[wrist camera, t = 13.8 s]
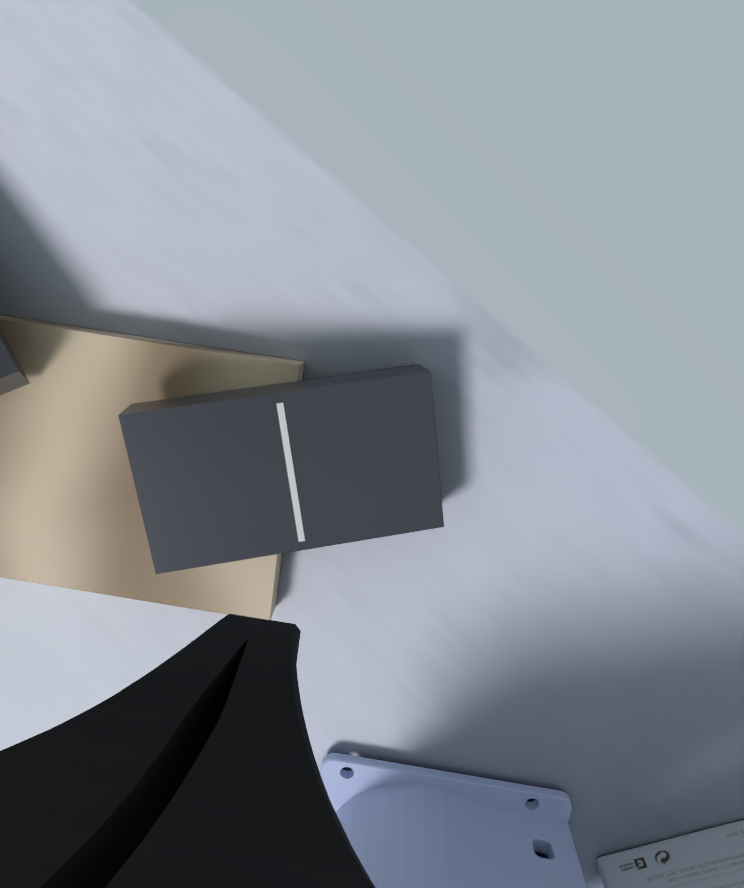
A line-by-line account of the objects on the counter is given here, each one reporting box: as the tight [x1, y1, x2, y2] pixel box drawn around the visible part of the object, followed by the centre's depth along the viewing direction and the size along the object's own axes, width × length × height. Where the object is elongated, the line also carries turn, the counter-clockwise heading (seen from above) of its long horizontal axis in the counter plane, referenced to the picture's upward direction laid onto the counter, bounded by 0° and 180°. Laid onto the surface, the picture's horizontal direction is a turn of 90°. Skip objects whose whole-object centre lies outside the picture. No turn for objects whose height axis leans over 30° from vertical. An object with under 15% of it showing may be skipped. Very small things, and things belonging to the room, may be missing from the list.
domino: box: [118, 364, 444, 574], centre depth 19 cm, size 2×5×9 cm
